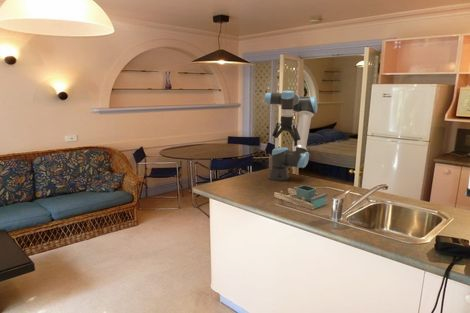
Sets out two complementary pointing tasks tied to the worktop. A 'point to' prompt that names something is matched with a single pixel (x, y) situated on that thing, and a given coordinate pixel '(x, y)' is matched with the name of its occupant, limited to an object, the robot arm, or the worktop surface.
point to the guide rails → (294, 200)
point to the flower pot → (305, 192)
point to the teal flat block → (319, 200)
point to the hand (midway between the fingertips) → (285, 149)
